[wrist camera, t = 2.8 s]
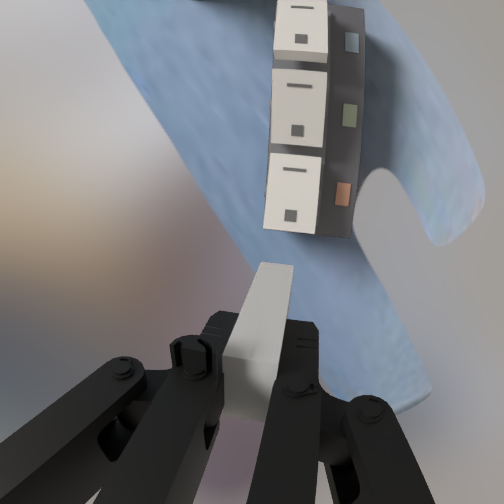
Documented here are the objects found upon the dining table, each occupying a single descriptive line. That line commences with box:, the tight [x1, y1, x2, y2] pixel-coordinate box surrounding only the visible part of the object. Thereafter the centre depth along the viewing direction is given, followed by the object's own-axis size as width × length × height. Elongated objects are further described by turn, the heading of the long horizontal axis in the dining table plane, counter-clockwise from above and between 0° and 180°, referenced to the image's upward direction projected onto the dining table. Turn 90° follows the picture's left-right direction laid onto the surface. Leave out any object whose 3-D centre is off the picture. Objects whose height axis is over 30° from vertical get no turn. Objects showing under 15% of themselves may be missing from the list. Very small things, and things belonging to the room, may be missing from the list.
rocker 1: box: [273, 0, 330, 63], centre depth 18 cm, size 6×4×2 cm
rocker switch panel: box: [264, 1, 365, 239], centre depth 25 cm, size 22×8×6 cm, turn 177°
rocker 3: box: [263, 153, 321, 234], centre depth 23 cm, size 6×4×2 cm
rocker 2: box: [270, 69, 328, 148], centre depth 21 cm, size 6×4×2 cm
